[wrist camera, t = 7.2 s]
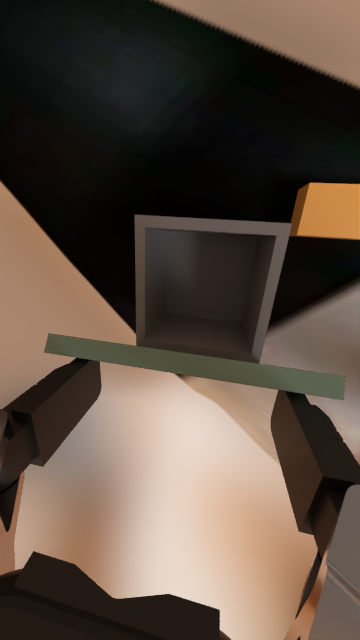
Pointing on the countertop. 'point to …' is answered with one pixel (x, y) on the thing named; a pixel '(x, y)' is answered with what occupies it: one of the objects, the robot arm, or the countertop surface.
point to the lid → (200, 366)
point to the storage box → (206, 284)
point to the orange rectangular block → (327, 211)
